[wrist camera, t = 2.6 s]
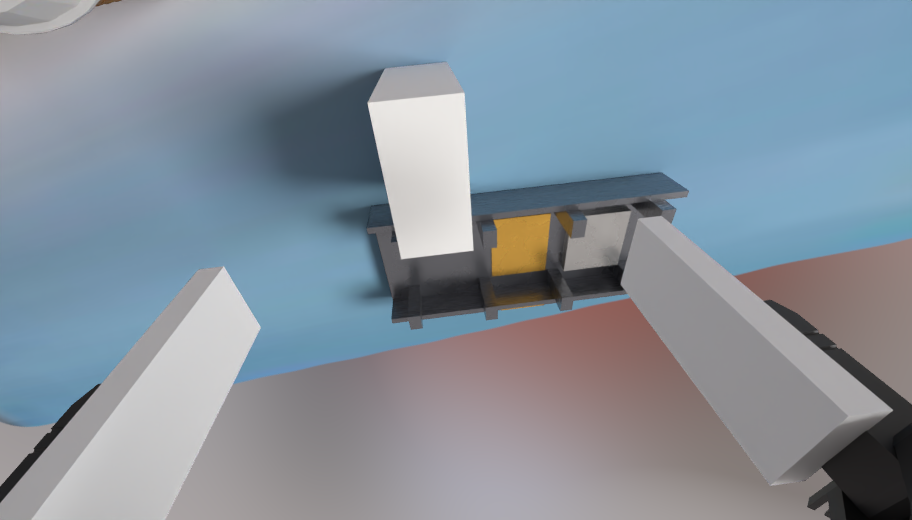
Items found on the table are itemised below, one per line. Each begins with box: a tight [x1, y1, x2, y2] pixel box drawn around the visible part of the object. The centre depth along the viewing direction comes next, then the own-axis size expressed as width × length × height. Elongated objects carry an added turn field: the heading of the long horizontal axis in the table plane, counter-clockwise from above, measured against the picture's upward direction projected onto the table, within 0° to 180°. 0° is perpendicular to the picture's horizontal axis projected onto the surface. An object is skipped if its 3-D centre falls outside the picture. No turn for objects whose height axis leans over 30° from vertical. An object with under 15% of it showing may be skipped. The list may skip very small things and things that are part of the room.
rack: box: [367, 173, 689, 330], centre depth 29 cm, size 24×11×5 cm, turn 95°
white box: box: [368, 62, 473, 259], centre depth 20 cm, size 4×8×10 cm, turn 5°
